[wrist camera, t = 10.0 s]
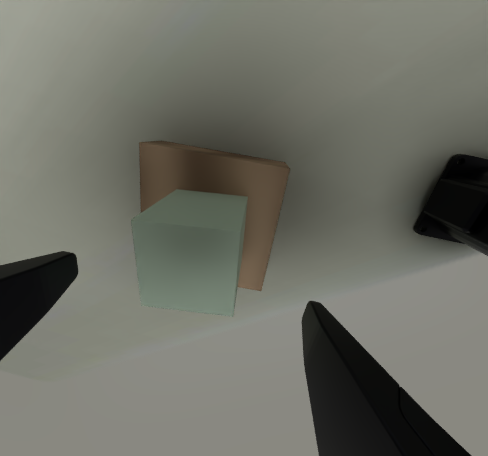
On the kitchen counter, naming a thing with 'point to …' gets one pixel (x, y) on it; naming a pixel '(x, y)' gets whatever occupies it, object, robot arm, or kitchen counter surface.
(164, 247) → the sage cube
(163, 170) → the walnut block
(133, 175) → the kitchen counter surface
